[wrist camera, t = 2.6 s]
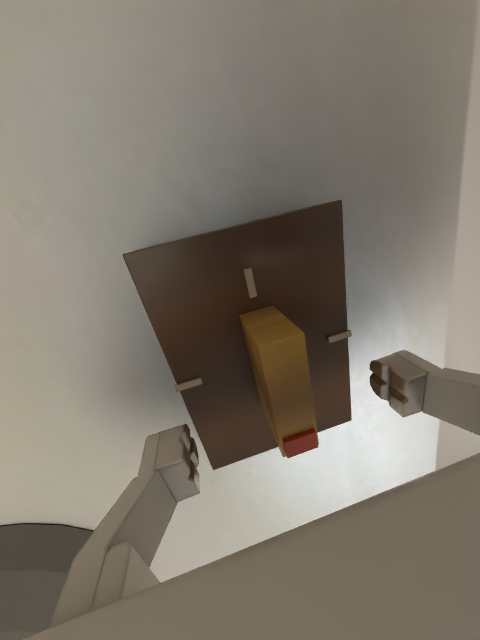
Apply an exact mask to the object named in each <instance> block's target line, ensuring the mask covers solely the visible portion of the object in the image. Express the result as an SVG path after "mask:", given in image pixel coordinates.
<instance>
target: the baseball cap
mask: <svg viewBox="0 0 480 640" xmlns="http://www.w3.org/2000/svg"><path fill="white" fill-rule="evenodd" d="M92 533H93V531H88V530H83V529H78V528H73V527H68V526H63V525H37V524H20V525H11V526H2V527H0V640H22V639H25V638H27V637H29V636H32V635H34V634H37V633H39V632H42V631H44V630H47V629H48V627H49V624H50V622H51V619H52V616H53V613H54V611H55V608H56V605H57V602H58V600H59V597H60V594H61V591H62V589H63V586H64V583H65V580H66V578H67V575H68V572H69V569H70V567H71V564H72V561H73V559H74V558H75V556H76V555H77V554H78V552H79V551H80V550H81V548H82V547H83V546H84V544H85V543H86V541H87V540H88V539H89V537H90V536H91V535H92Z"/></svg>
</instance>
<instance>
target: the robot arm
mask: <svg viewBox="0 0 480 640" xmlns="http://www.w3.org/2000/svg"><path fill="white" fill-rule="evenodd" d="M370 370H371V371H372V372H373V373H372V375H371V376H370V385H371V387H372V389H373V391H374V392H375V393H376V395H378V396H379V397H380V398H381V399H384V400H387V401H389V406H390V407H391V408H393V409H394V410H395V411H396V412H397V413H399V414H400V415H401V416H402V417H406V416H409V415H412V414H415V413H418V412H421V411H423V412H424V413H426V414H429V415H431V416H433V417H436V418H438V419H441V420H443V421H446V422H448V423H451V424H453V425H455V426H458V427H460V428H463V429H465V430H468V431H470V432H473V433H475V434H477V435H480V374H474V373H469V372H464V371H459V370H453V369H448V368H444V369H441V368H439V367H437V366H435V365H433V364H431V363H429V362H427V361H426V360H424V359H422V358H420V357H418V356H416V355H414V354H412V353H410V352H408V351H405V350H402V351H399V352H396V353H393V354H391V355H388V356H385V357H382V358H379V359H377V360H374V361H371V363H370ZM198 464H199V460H198V452H197V447H196V444H195V441H194V439H193V438H192V437H190V429H189V427H188V425H187V424H184V425H181V426H177V427H174V428H171V429H168V430H164V431H161V432H159V433H156V434H152V435H149V436H148V437H147V439H146V441H145V446H144V450H143V455H142V460H141V464H140V469H139V473H138V477H136V478H133V480H132V481H131V482H130V484H129V485H128V486H127V488H126V489H125V490H124V492H123V493H122V495H121V496H120V497H119V499H118V500H117V501H116V503H115V504H114V505H113V507H112V508H111V509H110V511H109V512H108V513H107V515H106V516H105V517H104V519H103V520H102V521H101V523H100V524H99V525H98V527H97V528H96V529H95V531H94V532H93V533H92V535H91V536H90V537H89V539H88V540H87V541H86V543H85V544H84V546H83V547H82V548H81V550H80V551H79V552H78V554H77V555H76V556H75V558H74V559H73V561H72V564H71V567H70V569H69V572H68V575H67V578H66V580H65V583H64V586H63V589H62V591H61V594H60V597H59V600H58V602H57V605H56V608H55V611H54V613H53V616H52V619H51V622H50V624H49V627H48V629H47V630H44V631H42V632H39V633H37V634H34V635H32V636H29V637H27V638H25V639H22V640H480V453H478V454H476V455H473V456H471V457H468V458H466V459H463V460H461V461H458V462H456V463H453V464H451V465H449V466H446V467H444V468H441V469H439V470H436V471H434V472H431V473H429V474H426V475H424V476H422V477H419V478H417V479H414V480H412V481H409V482H407V483H404V484H402V485H399V486H397V487H395V488H392V489H390V490H387V491H385V492H382V493H380V494H377V495H375V496H372V497H370V498H368V499H365V500H363V501H360V502H358V503H355V504H353V505H350V506H348V507H346V508H343V509H341V510H338V511H336V512H333V513H331V514H329V515H326V516H324V517H321V518H319V519H316V520H314V521H311V522H309V523H307V524H304V525H302V526H299V527H297V528H294V529H292V530H289V531H287V532H284V533H282V534H280V535H277V536H275V537H272V538H270V539H267V540H265V541H262V542H260V543H258V544H255V545H253V546H250V547H248V548H245V549H243V550H240V551H238V552H236V553H233V554H231V555H228V556H226V557H223V558H221V559H218V560H216V561H213V562H211V563H209V564H206V565H204V566H201V567H199V568H196V569H194V570H191V571H189V572H187V573H184V574H182V575H179V576H177V577H174V578H172V579H169V580H167V581H165V582H162V583H160V582H159V580H158V579H157V578H156V576H155V575H154V574H153V573H152V571H151V570H150V569H149V567H150V564H151V562H152V560H153V558H154V555H155V553H156V551H157V549H158V546H159V544H160V542H161V539H162V537H163V535H164V533H165V530H166V528H167V526H168V524H169V521H170V519H171V517H172V514H173V512H174V510H175V508H176V505H177V502H179V501H182V500H184V499H187V498H189V497H192V496H194V495H197V494H199V493H200V486H199V474H198V471H197V469H196V468H197V466H198Z"/></svg>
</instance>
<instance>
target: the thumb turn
mask: <svg viewBox="0 0 480 640" xmlns="http://www.w3.org/2000/svg"><path fill="white" fill-rule="evenodd" d="M239 317H240V321H241V325H242V329H243V333H244V337H245V341H246V345H247V349H248V353H249V357H250V361H251V365H252V369H253V373H254V377H255V381H256V385H257V389H258V393H259V397H260V401H261V405H262V408H263V410H264V413H265V415H266V417H267V420H268V422H269V425H270V427H271V429H272V432H273V434H274V437H275V439H276V442H277V444H278V446H279V449H280V451H281V454H282V456H283V457H286V456H287V458H290V457H293V456H296V455H298V454H301V453H304V452H306V451H309V450H312V449H315V448H317V447H318V444H319V443H318V435H317V427H316V419H315V412H314V404H313V396H312V389H311V381H310V373H309V365H308V358H307V350H306V342H305V334H304V332H303V331H302V330H300V329H299V328H298V327H297V326H296V325H295V324H294V323H292V322H291V321H290V320H289V319H288V318H287V317H286V316H284V315H283V314H282V313H281V312H280V311H279V310H278V309H276V308H275V307H274V306H273V305H272V306H269V307H265V308H262V309H258V310H255V311H252V312H248V313H245V314H241V315H239Z"/></svg>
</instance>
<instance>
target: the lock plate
mask: <svg viewBox="0 0 480 640" xmlns="http://www.w3.org/2000/svg"><path fill="white" fill-rule="evenodd" d="M123 257H124V260H125V262H126V265H127V267H128V269H129V272H130V274H131V276H132V279H133V281H134V284H135V286H136V288H137V291H138V293H139V295H140V298H141V300H142V302H143V305H144V307H145V310H146V312H147V314H148V317H149V319H150V321H151V324H152V326H153V329H154V331H155V333H156V336H157V338H158V340H159V343H160V345H161V348H162V350H163V352H164V355H165V357H166V359H167V362H168V364H169V366H170V369H171V371H172V374H173V376H174V378H175V381H176V383H177V385H175V389H176V391H177V392H178V391H180V393H181V395H182V397H183V400H184V402H185V404H186V407H187V409H188V411H189V414H190V416H191V419H192V421H193V423H194V426H195V428H196V430H197V433H198V435H199V438H200V440H201V442H202V445H203V447H204V449H205V452H206V454H207V457H208V459H209V461H210V464H211V466H212V468H213V470H215V469H218V468H220V467H223V466H226V465H229V464H232V463H234V462H237V461H240V460H243V459H245V458H248V457H251V456H254V455H257V454H259V453H262V452H265V451H268V450H270V449H273V448H276V447H279V446H278V444H277V442H276V439H275V437H274V434H273V432H272V429H271V427H270V425H269V422H268V420H267V417H266V415H265V413H264V410H263V408H262V405H261V401H260V397H259V393H258V389H257V385H256V381H255V377H254V373H253V369H252V365H251V361H250V357H249V353H248V349H247V345H246V341H245V337H244V333H243V329H242V325H241V321H240V317H239V315H241V314H245V313H248V312H252V311H255V310H258V309H262V308H265V307H269V306H272V305H273V306H274V307H275V308H276V309H278V310H279V311H280V312H281V313H282V314H283V315H284V316H286V317H287V318H288V319H289V320H290V321H291V322H292V323H294V324H295V325H296V326H297V327H298V328H299V329H300V330H302V331H303V332H304V334H305V342H306V350H307V358H308V365H309V373H310V381H311V389H312V396H313V404H314V412H315V419H316V427H317V432H320V431H323V430H326V429H329V428H331V427H334V426H337V425H340V424H342V423H345V422H348V421H351V398H350V376H349V353H348V337H350V336H351V330H347V308H346V285H345V263H344V240H343V218H342V200H337V201H333V202H328V203H324V204H319V205H315V206H311V207H306V208H302V209H298V210H295V211H291V212H287V213H283V214H279V215H275V216H271V217H267V218H263V219H259V220H255V221H251V222H247V223H243V224H239V225H235V226H231V227H227V228H223V229H219V230H215V231H211V232H207V233H203V234H199V235H195V236H191V237H187V238H183V239H179V240H175V241H171V242H167V243H163V244H159V245H155V246H151V247H147V248H143V249H139V250H136V251H132V252H129V253H126V254H123Z"/></svg>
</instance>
